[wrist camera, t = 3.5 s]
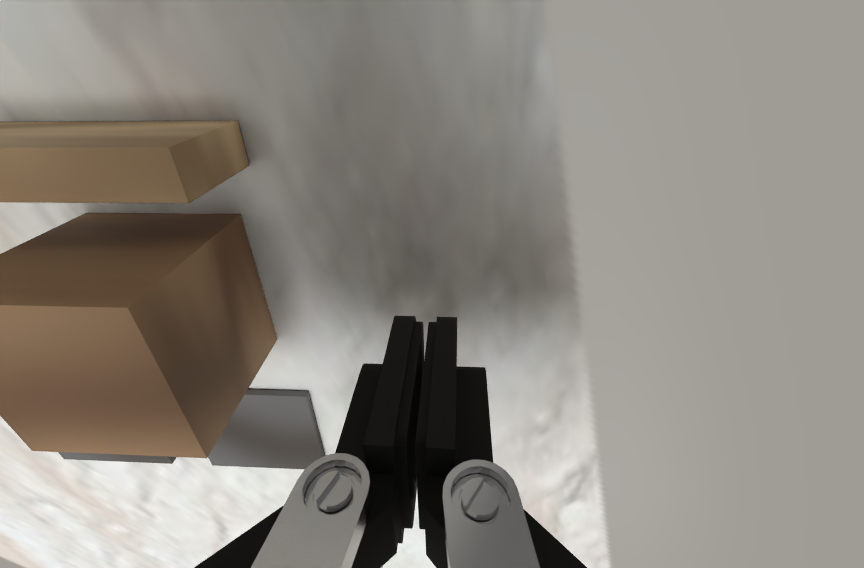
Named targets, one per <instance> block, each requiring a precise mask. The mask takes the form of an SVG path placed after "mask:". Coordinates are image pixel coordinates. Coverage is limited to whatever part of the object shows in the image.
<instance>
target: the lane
mask: <svg viewBox="0 0 864 568" xmlns="http://www.w3.org/2000/svg"><path fill="white" fill-rule="evenodd" d="M248 166H249V162H248V158H247V155H246V151H245V147H244V143H243V139H242V135H241V132H240V128H239V124H238V121H71V122H0V202H53V203H190V202H192V201H193V200H195V199H196V198H198V197H200V196H201V195H203V194H204V193H206V192H208V191H209V190H211V189H212V188H214V187H216V186H217V185H219V184H220V183H222V182H224V181H225V180H227V179H228V178H230V177H232V176H233V175H235V174H236V173H238V172H240V171H241V170H243V169H244V168H246V167H248ZM59 454H60V455H61V456H62V457H63V458H64V459H75V460H99V461H123V462H146V463H170V464H172V463H173V462H174V460H175V459H176V457H169V456H145V455H121V454H97V453H73V452H59ZM324 456H325V454H324V450H323V446H322V442H321V438H320V435H319V431H318V427H317V423H316V419H315V415H314V412H313V408H312V404H311V400H310V396H309V392H308V391H291V390H259V389H248V390H247V391H246V393H245V395H244V396H243V398H242V400H241V401H240V403H239V405H238V406H237V408H236V410H235V412H234V413H233V415H232V417H231V418H230V420H229V422H228V423H227V425H226V427H225V428H224V430H223V432H222V434H221V435H220V437H219V439H218V440H217V442H216V444H215V445H214V447H213V449H212V450H211V452H210V454H209V456H208V458H209V459H210V461H211V463H212V465H218V466H241V467H265V468H289V469H306V468H307V467H308V466H309V465H311V464H312V463H313V462H314V461H316V460H318V459H320V458H322V457H324Z"/></svg>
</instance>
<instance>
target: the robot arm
mask: <svg viewBox="0 0 864 568" xmlns="http://www.w3.org/2000/svg"><path fill="white" fill-rule="evenodd" d="M416 490H417V492H418V510H419V527H420V529H425V535H426V555H427V556H428V557H429V559H430V560H431V561H432V563H433V564H434V565H435V566H436V568H587V567H586V566H585V565H584V564H583V563H581V562H580V561H579V560H578V559H577V558H576V557H575V556H574V555H573V554H572V553H571V552H570V551H568V550H567V549H566V548H565V547H564V546H563V545H562V544H561V543H560V542H559V541H558V540H557V539H555V538H554V537H553V536H552V535H551V534H550V533H549V532H548V531H547V530H546V529H545V528H544V527H542V526H541V525H540V524H539V523H538V522H537V521H536V520H535V519H534V518H533V517H532V516H531V515H529V514H528V513H527V512H526V511H525V510H524V509H523V506H522V503H521V499H520V496H519V492H518V489H517V487H516V485H515V483H514V480H513V479H512V478H511V476H510V475H509V474H508V473H507V472H506V471H505V470H504V469H503V468H501V467H500V466H498V465H497V464H495V463H493V455H492V443H491V430H490V417H489V405H488V392H487V379H486V369H485V368H484V367H457V317H437V322H429V325H428V334H427V343H426V352H425V361H424V334H423V322H416V318H415V316H395V317H394V320H393V324H392V328H391V332H390V337H389V341H388V345H387V349H386V353H385V357H384V361H383V364H363V366H362V368H361V371H360V374H359V377H358V381H357V384H356V387H355V390H354V394H353V397H352V400H351V403H350V407H349V410H348V413H347V417H346V420H345V423H344V426H343V430H342V433H341V436H340V439H339V443H338V446H337V449H336V452H335V454H330V455H326V456H324V457H322V458H320V459H318V460H316V461H314V462H313V463H312V464H311V465H309V466H308V467H307V468H306V469H305V470H304V472H303V473H302V474H301V476H300V477H299V479H298V480H297V482H296V484H295V486H294V488H293V490H292V491H291V493H290V495H289V497H288V499H287V501H286V503H285V505H284V506H282V507H281V508H279V509H278V510H276V511H275V512H274V513H272V514H271V515H269V516H268V517H266V518H265V519H264V520H262V521H261V522H259V523H258V524H256V525H255V526H253V527H252V528H251V529H249V530H248V531H246V532H245V533H243V534H242V535H241V536H239V537H238V538H236V539H235V540H233V541H232V542H230V543H229V544H228V545H226V546H225V547H223V548H222V549H220V550H219V551H218V552H216V553H215V554H213V555H212V556H210V557H209V558H207V559H206V560H205V561H203V562H202V563H200V564H199V565H197V566H196V567H195V568H382V567H383V565H384V564H385V563H386V562H387V561H388V560H389V559H390V558H392V557H393V556H394V555H395V554H396V553H397V545H398V543H402V542H403V534H404V528H412V527H413V521H414V511H415V501H416Z"/></svg>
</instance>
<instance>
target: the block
mask: <svg viewBox="0 0 864 568" xmlns="http://www.w3.org/2000/svg"><path fill="white" fill-rule="evenodd" d="M276 340H277V337H276V333H275V330H274V326H273V323H272V320H271V316H270V313H269V309H268V306H267V302H266V299H265V296H264V292H263V289H262V285H261V282H260V278H259V275H258V272H257V268H256V265H255V261H254V258H253V254H252V251H251V248H250V244H249V241H248V237H247V234H246V230H245V227H244V223H243V220H242V217H241V214H162V213H85V214H83V215H81V216H79V217H77V218H75V219H73V220H70V221H68V222H66V223H64V224H62V225H60V226H58V227H56V228H54V229H52V230H50V231H48V232H45V233H43V234H41V235H39V236H37V237H35V238H33V239H31V240H29V241H27V242H25V243H23V244H20V245H18V246H16V247H14V248H12V249H10V250H8V251H6V252H4V253H2V254H0V416H1V417H2V418H3V419H4V420H5V421H6V422H7V423H8V425H9V426H10V427H11V428H12V429H13V430H14V431H15V432H16V433H17V434H18V436H19V437H20V438H21V439H22V440H23V441H24V442H25V443H26V444H27V446H28V447H29V448H30V449H31V450H32V451H49V452H73V453H97V454H121V455H145V456H169V457H193V458H207V457H208V456H209V454H210V452H211V450H212V449H213V447H214V445H215V444H216V442H217V440H218V439H219V437H220V435H221V434H222V432H223V430H224V428H225V427H226V425H227V423H228V422H229V420H230V418H231V417H232V415H233V413H234V412H235V410H236V408H237V406H238V405H239V403H240V401H241V400H242V398H243V396H244V395H245V393H246V391H247V390H248V388H249V386H250V384H251V383H252V381H253V379H254V378H255V376H256V374H257V373H258V371H259V369H260V368H261V366H262V364H263V362H264V361H265V359H266V357H267V356H268V354H269V352H270V351H271V349H272V347H273V346H274V344H275V342H276Z"/></svg>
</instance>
